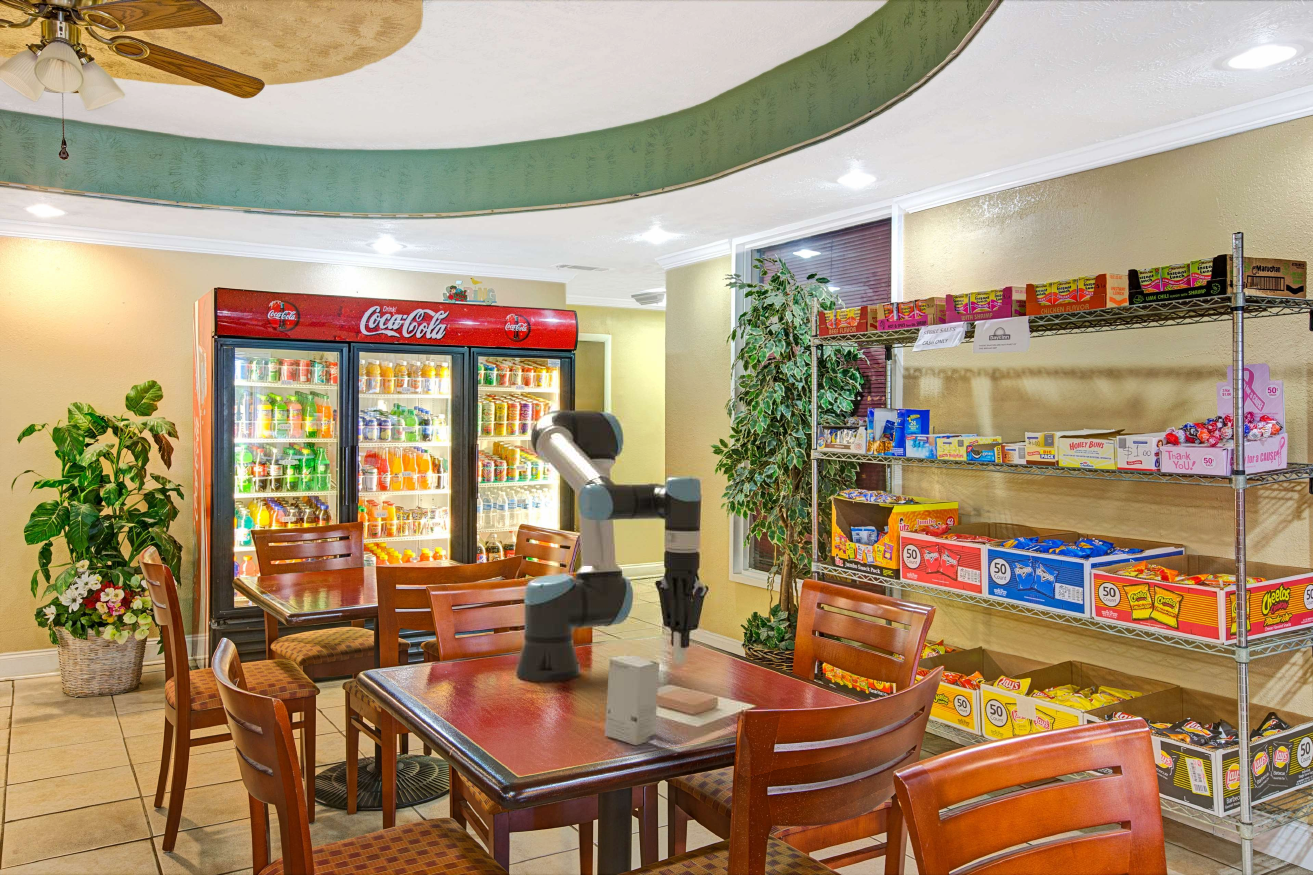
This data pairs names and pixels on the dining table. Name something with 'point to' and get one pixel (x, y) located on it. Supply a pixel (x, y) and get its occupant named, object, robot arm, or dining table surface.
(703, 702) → the tile
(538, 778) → the dining table surface
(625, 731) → the skincare box
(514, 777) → the dining table surface
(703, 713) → the mat
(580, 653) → the dining table surface
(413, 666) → the dining table surface
